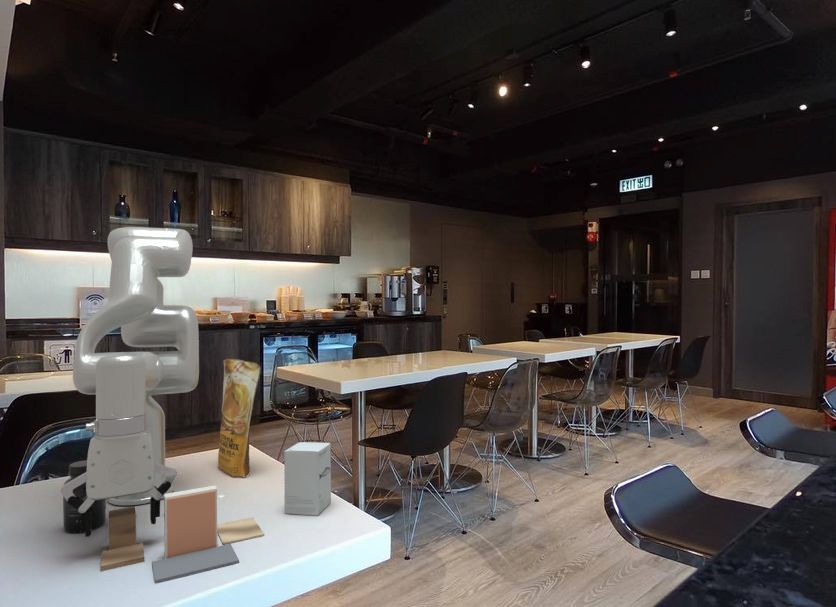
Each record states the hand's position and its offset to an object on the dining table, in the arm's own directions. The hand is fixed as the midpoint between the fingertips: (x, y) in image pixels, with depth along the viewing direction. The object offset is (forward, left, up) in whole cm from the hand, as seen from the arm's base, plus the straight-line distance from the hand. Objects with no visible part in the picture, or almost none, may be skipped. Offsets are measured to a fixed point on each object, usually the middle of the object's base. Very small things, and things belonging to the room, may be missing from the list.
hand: (121, 527), depth 89 cm
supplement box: (-1, +33, -4) cm, 33 cm away
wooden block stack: (+2, 0, -4) cm, 4 cm away
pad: (+3, +19, -4) cm, 19 cm away
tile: (+7, +10, -4) cm, 13 cm away
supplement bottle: (-15, -6, -4) cm, 16 cm away
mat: (+12, +10, -4) cm, 16 cm away
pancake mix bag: (-36, +26, -4) cm, 45 cm away
